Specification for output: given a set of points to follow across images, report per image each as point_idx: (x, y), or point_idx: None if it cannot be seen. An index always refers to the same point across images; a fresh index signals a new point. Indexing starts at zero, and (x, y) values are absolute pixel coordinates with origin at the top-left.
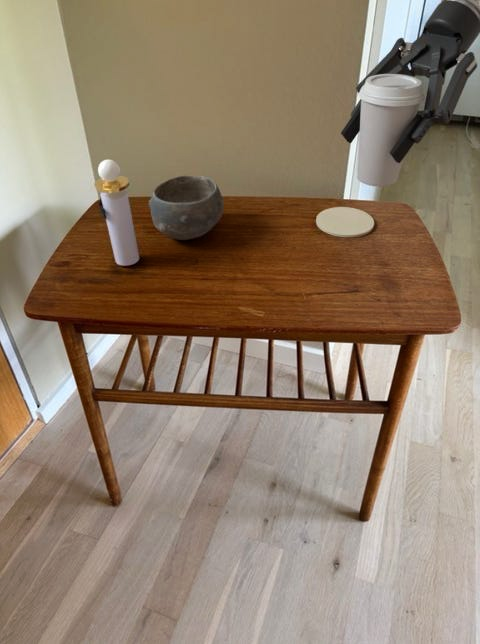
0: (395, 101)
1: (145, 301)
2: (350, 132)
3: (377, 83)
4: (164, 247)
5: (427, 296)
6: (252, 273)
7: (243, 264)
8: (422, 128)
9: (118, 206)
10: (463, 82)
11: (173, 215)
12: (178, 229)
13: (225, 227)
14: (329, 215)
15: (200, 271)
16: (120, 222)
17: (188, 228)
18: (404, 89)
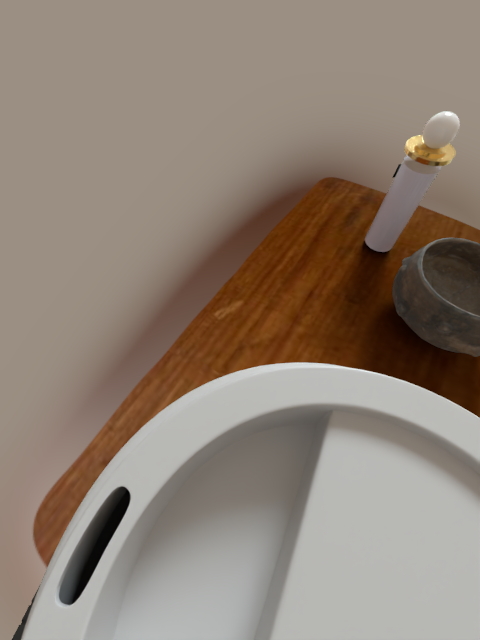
0: (118, 452)
1: (298, 238)
2: None
3: (406, 490)
4: None
5: None
6: (297, 344)
7: (322, 344)
8: (17, 633)
9: (398, 172)
10: None
11: (411, 256)
12: (397, 273)
13: (433, 369)
14: None
15: (328, 296)
16: (388, 192)
17: (394, 282)
18: (64, 547)
